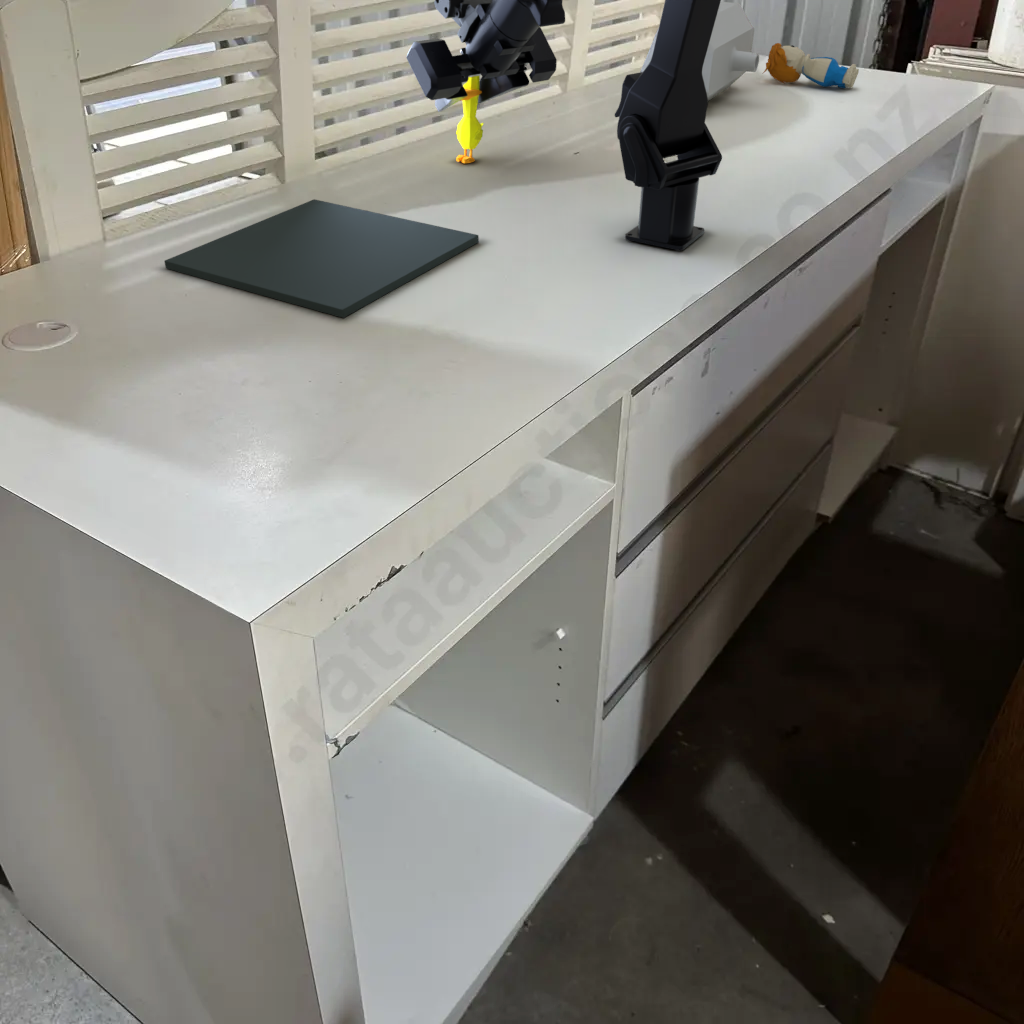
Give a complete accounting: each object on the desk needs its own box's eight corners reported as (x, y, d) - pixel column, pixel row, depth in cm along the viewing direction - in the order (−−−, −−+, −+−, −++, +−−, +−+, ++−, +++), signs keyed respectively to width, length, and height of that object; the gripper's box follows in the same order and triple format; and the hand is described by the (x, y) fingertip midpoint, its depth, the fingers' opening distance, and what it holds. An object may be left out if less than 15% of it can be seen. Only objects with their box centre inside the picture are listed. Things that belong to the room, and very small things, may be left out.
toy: (854, 50, 149) (764, 30, 155) (839, 91, 151) (751, 69, 157) (864, 68, 160) (779, 48, 165) (850, 106, 162) (766, 85, 167)
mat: (343, 318, 83) (342, 309, 83) (165, 268, 92) (163, 260, 92) (478, 242, 99) (478, 234, 98) (314, 206, 108) (314, 198, 107)
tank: (726, 124, 138) (739, 29, 131) (623, 111, 144) (630, 20, 137) (771, 90, 156) (784, 5, 149) (677, 80, 162) (686, -3, 155)
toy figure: (456, 167, 119) (458, 62, 112) (435, 162, 121) (436, 58, 114) (492, 160, 123) (496, 58, 117) (472, 155, 125) (475, 54, 119)
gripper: (544, -51, 111) (486, 39, 124) (410, -40, 101) (364, 57, 115) (586, 33, 110) (524, 115, 124) (456, 52, 101) (404, 139, 114)
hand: (456, 104), depth 119 cm, fingers closed on toy figure, 5 cm apart
